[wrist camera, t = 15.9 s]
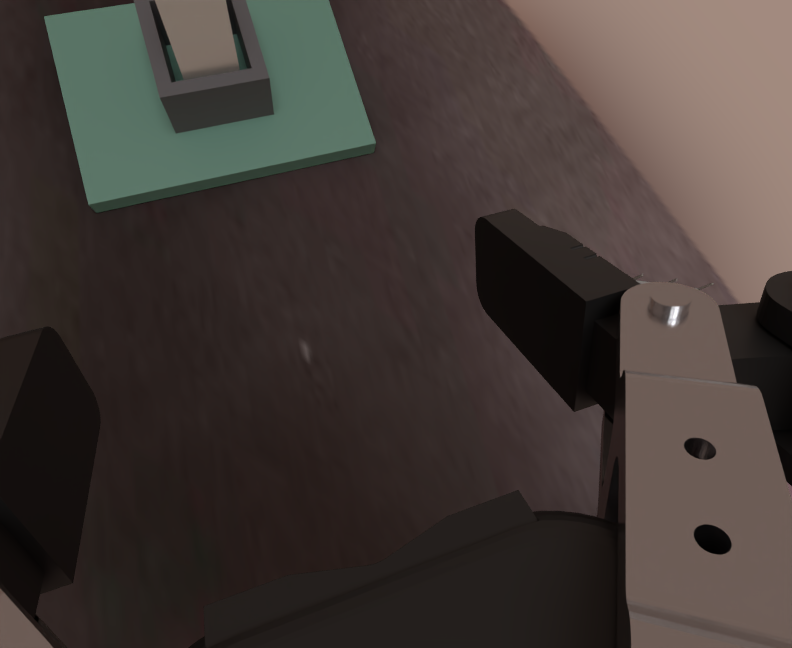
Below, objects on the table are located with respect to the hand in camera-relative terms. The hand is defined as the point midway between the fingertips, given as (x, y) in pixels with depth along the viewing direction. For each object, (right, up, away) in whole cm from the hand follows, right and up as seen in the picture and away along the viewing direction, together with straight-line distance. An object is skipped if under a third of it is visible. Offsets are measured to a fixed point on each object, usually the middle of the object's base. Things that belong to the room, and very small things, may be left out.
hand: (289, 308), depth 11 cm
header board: (-12, +19, +34) cm, 40 cm away
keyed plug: (-12, +19, +32) cm, 39 cm away
